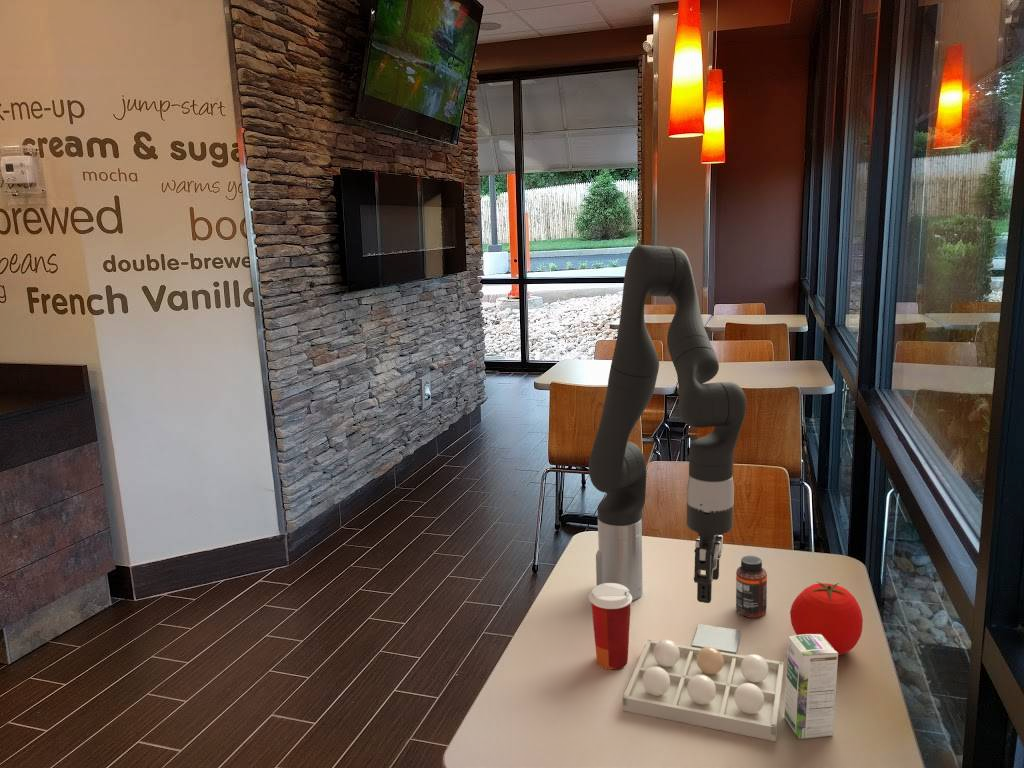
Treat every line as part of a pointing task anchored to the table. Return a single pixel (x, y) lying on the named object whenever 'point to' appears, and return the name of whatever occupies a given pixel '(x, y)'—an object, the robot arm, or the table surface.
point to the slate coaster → (717, 638)
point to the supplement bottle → (751, 587)
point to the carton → (729, 711)
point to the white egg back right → (754, 668)
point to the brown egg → (710, 660)
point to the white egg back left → (666, 653)
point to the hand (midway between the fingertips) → (708, 589)
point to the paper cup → (611, 624)
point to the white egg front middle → (701, 689)
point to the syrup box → (810, 685)
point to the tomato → (828, 615)
